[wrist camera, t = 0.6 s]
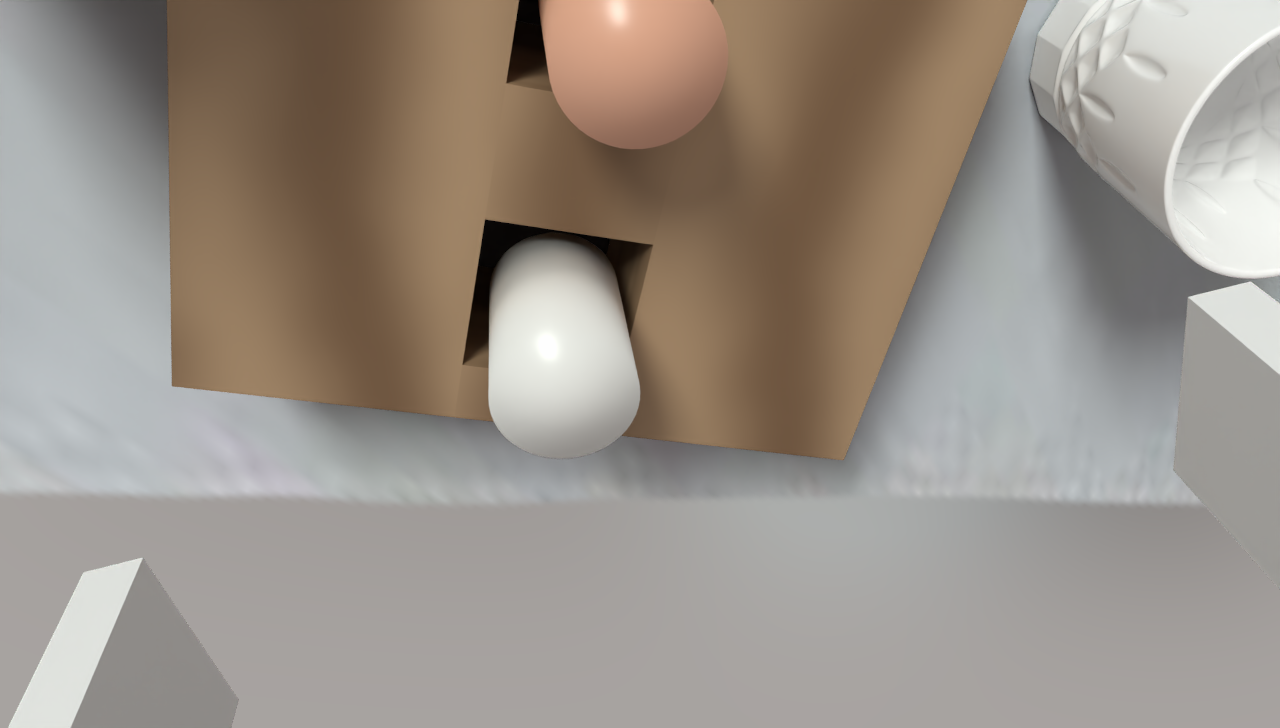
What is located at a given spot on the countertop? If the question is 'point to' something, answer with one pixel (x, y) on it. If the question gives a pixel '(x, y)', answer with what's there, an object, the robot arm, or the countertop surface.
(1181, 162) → the white cup
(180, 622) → the robot arm
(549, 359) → the white glossy ovoid
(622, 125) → the terracotta plug
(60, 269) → the countertop surface
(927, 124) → the walnut block
